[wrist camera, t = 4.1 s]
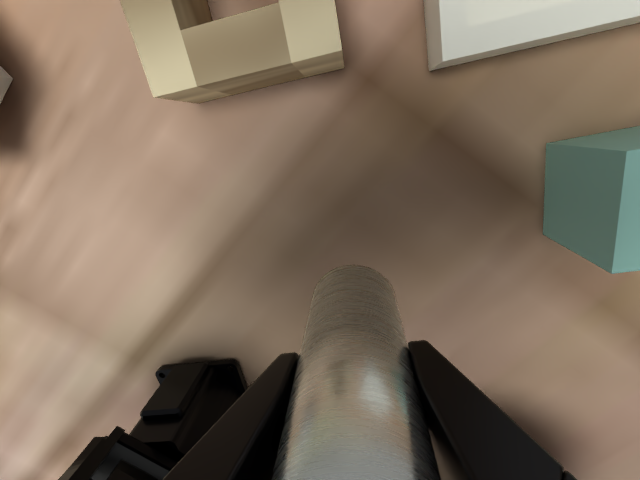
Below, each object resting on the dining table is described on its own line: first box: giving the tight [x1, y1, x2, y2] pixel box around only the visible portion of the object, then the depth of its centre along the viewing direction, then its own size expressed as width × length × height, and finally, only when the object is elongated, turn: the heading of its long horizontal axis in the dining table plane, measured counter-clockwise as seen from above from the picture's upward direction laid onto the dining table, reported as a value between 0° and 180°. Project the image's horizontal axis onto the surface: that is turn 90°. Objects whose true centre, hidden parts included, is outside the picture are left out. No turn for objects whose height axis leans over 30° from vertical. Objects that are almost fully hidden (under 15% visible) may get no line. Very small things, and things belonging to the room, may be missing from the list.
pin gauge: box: [271, 265, 441, 480], centre depth 6 cm, size 3×3×9 cm
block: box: [543, 126, 640, 274], centre depth 14 cm, size 5×5×5 cm
